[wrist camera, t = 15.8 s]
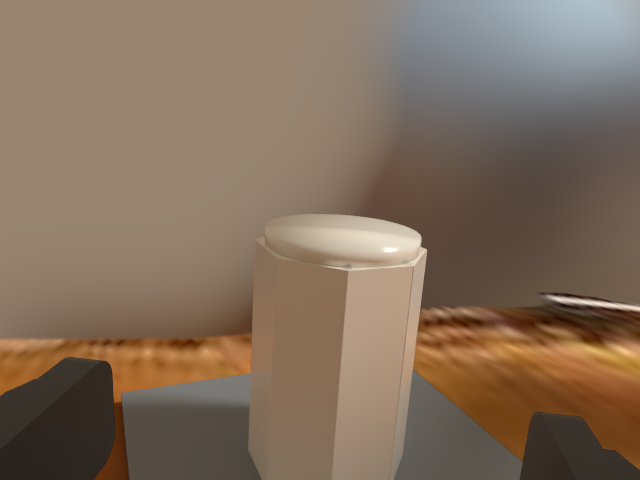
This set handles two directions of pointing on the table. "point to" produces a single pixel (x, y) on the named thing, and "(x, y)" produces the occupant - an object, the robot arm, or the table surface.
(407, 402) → the cup
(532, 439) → the robot arm
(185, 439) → the slate mat
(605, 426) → the table surface
